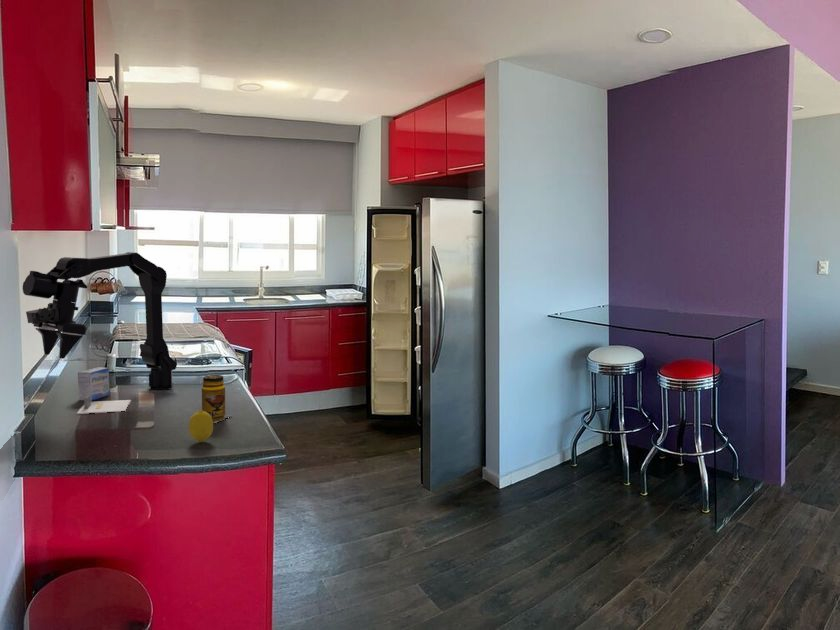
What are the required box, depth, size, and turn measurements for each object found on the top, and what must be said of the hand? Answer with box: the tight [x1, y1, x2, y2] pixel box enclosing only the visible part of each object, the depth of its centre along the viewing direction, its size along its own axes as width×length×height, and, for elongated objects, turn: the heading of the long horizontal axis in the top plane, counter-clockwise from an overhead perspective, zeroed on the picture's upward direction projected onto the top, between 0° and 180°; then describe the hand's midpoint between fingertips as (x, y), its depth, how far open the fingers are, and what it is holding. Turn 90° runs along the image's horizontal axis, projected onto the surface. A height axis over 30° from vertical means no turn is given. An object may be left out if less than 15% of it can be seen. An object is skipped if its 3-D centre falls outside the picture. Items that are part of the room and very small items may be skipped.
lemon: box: [188, 409, 214, 443], centre depth 145 cm, size 6×6×8 cm
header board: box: [76, 395, 132, 415], centre depth 172 cm, size 12×12×3 cm
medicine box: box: [77, 366, 110, 402], centre depth 182 cm, size 8×4×9 cm, turn 168°
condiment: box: [201, 374, 230, 422], centre depth 164 cm, size 7×8×12 cm
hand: (54, 356), depth 168 cm, fingers open, 9 cm apart
